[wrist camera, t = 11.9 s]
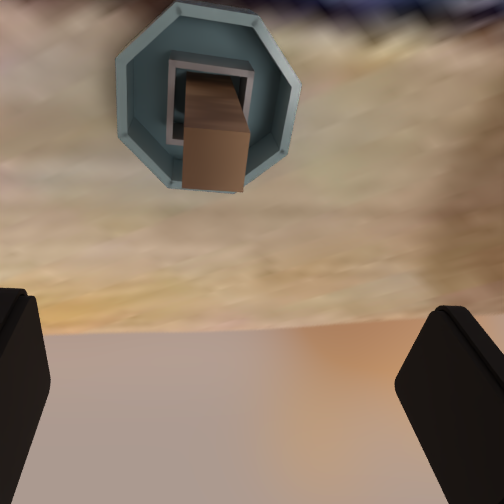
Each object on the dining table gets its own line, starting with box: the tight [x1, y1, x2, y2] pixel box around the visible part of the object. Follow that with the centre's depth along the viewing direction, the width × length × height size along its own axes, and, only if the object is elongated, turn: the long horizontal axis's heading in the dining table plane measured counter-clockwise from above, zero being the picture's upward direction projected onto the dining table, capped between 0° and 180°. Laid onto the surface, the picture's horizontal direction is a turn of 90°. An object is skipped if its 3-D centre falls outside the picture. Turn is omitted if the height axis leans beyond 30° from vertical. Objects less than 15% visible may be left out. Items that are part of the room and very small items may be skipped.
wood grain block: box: [182, 71, 250, 192], centre depth 24 cm, size 3×3×12 cm
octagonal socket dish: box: [115, 0, 302, 194], centre depth 28 cm, size 11×11×4 cm
